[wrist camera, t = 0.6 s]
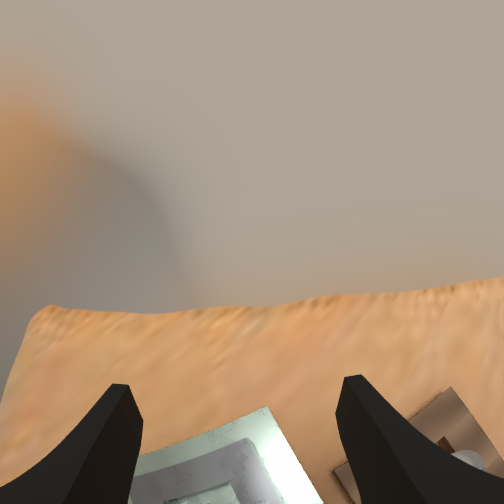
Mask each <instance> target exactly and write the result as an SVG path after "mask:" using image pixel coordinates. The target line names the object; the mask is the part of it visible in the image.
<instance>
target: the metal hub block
mask: <svg viewBox="0 0 504 504" xmlns="http://www.w3.org/2000/svg"><path fill="white" fill-rule="evenodd" d="M128 504H324V503H323V502H322V500H321V498H320V497H319V495H318V494H317V492H316V490H315V489H314V487H313V485H312V484H311V482H310V480H309V479H308V477H307V475H306V474H305V472H304V470H303V469H302V467H301V465H300V464H299V462H298V460H297V458H296V457H295V455H294V453H293V451H292V450H291V448H290V446H289V444H288V443H287V441H286V439H285V437H284V436H283V434H282V432H281V430H280V429H279V427H278V425H277V423H276V421H275V419H274V418H273V416H272V414H271V412H270V410H269V409H268V407H267V406H265V407H263V408H261V409H259V410H257V411H255V412H252V413H250V414H248V415H246V416H244V417H242V418H239V419H237V420H235V421H233V422H230V423H228V424H226V425H223V426H221V427H218V428H216V429H214V430H211V431H209V432H206V433H204V434H201V435H199V436H196V437H193V438H191V439H188V440H185V441H183V442H180V443H177V444H174V445H172V446H169V447H166V448H163V449H160V450H157V451H154V452H151V453H148V454H144V455H141V456H138V459H137V464H136V468H135V472H134V476H133V481H132V485H131V489H130V494H129V499H128Z"/></svg>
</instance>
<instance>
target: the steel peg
mask: <svg viewBox="0 0 504 504" xmlns="http://www.w3.org/2000/svg"><path fill="white" fill-rule="evenodd" d="M452 455H453V456H455V457H457V458H459V459H460V460H462V461H464V462H466V463H468V464H470V465H472V466H474V467H476V468H478V469H480V470H483V471H485V463H484V461H483V459H482V457H481V456H480V455H479V454H478V453H476V452H474V451H471V450H462V451H458V452H455V453H452Z"/></svg>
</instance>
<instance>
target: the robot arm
mask: <svg viewBox="0 0 504 504" xmlns="http://www.w3.org/2000/svg"><path fill="white" fill-rule="evenodd" d="M335 415H336V420H337V425H338V430H339V434H340V439H341V442H342V445H343V448H344V450H345V453H346V456H347V459H348V462H349V465H350V468H351V470H352V473H353V476H354V479H355V482H356V485H357V488H358V491H359V495H360V499H361V504H504V478H501V477H498V476H495V475H492V474H490V473H487V472H485V471H483V470H480V469H478V468H476V467H474V466H472V465H470V464H468V463H466V462H464V461H462V460H460V459H459V458H457V457H455V456H453V455H452V454H450V453H448V452H447V451H445V450H444V449H442V448H441V447H439V446H438V445H436V444H435V443H434V442H432V441H431V440H430V439H428V438H427V437H426V436H424V435H423V434H422V433H421V432H420V431H418V430H417V429H416V428H415V427H414V426H413V425H411V424H410V423H409V422H408V421H407V420H406V419H405V418H404V417H403V416H402V415H401V414H400V413H398V412H397V411H396V410H395V409H394V408H393V407H392V406H391V405H390V404H389V403H388V402H387V401H386V400H385V399H384V398H383V397H382V396H381V394H380V393H379V392H378V391H377V390H376V389H375V388H374V387H373V386H372V385H371V384H370V383H369V382H368V381H367V380H366V379H365V377H364V376H362V375H354V376H348V377H344V381H343V386H342V390H341V394H340V398H339V402H338V406H337V409H336V413H335ZM142 430H143V419H142V416H141V414H140V412H139V409H138V407H137V405H136V402H135V400H134V397H133V395H132V392H131V390H130V387H129V385H124V384H112V385H111V386H110V387H109V388H108V389H107V390H106V392H105V393H104V394H103V395H102V396H101V398H100V399H99V400H98V401H97V402H96V404H95V405H94V406H93V407H92V408H91V410H90V411H89V412H88V413H87V414H86V415H85V417H84V418H83V419H82V420H81V421H80V422H79V423H78V425H77V426H76V427H75V428H74V429H73V430H72V431H71V432H70V433H69V434H68V435H67V436H66V437H65V439H64V440H63V441H62V442H61V443H60V444H59V445H58V446H57V447H56V448H54V449H53V450H52V451H51V452H50V453H49V454H48V455H47V456H46V457H44V458H43V459H42V460H41V461H40V462H38V463H37V464H36V465H35V466H33V467H32V468H31V469H29V470H28V471H26V472H25V473H23V474H22V475H21V476H19V477H18V478H16V479H14V480H13V481H11V482H9V483H7V484H6V485H4V486H2V487H0V504H128V499H129V494H130V489H131V485H132V481H133V476H134V472H135V468H136V464H137V459H138V455H139V451H140V447H141V439H142Z"/></svg>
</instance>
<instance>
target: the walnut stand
mask: <svg viewBox="0 0 504 504" xmlns="http://www.w3.org/2000/svg"><path fill="white" fill-rule="evenodd" d="M408 422H409V423H410V424H411V425H413V426H414V427H415V428H416V429H417V430H418V431H420V432H421V433H422V434H423V435H424V436H426V437H427V438H428V439H430V440H431V441H432V442H434V443H436V442H438V444H439V445H440V446H441V448H442V449H444V450H445V451H447V452H448V453H450V454H452V453H455V452H458V451H462V450H471V451H474V452H476V453H478V454H479V455H480V456H481V457H482V459H483V461H484V463H485V472H487V473H490V474H492V475H495V476H498V477H501V478H504V461H503V459H502V458H501V456H500V455H499V453H498V452H497V450H496V449H495V447H494V446H493V444H492V443H491V441H490V440H489V438H488V437H487V435H486V434H485V432H484V431H483V430H482V428H481V427H480V425H479V424H478V422H477V421H476V420H475V418H474V417H473V415H472V414H471V413H470V411H469V410H468V408H467V407H466V406H465V404H464V403H463V402H462V400H461V399H460V398H459V396H458V395H457V394H456V392H455V391H454V390H453V388H452V387H451V386H450V387H449V388H448V389H447V390H445V391H444V392H443V393H442V394H441V395H440V396H438V397H437V398H436V399H435V400H434V401H433V402H431V403H430V404H429V405H428V406H427V407H425V408H424V409H423V410H422V411H420V412H419V413H418V414H417V415H415V416H414V417H413V418H412V419H410V420H409V421H408ZM333 472H334V474H335V476H336V477H337V479H338V480H339V482H340V484H341V485H342V487H343V488H344V490H345V491H346V493H347V495H348V496H349V498H350V499H351V501H352V502H353V504H361V499H360V495H359V491H358V488H357V485H356V482H355V479H354V476H353V473H352V470H351V468H350V465H349V462H347V463H345V464H343V465H341V466H340V467H338V468H336V469H334V470H333Z"/></svg>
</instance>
